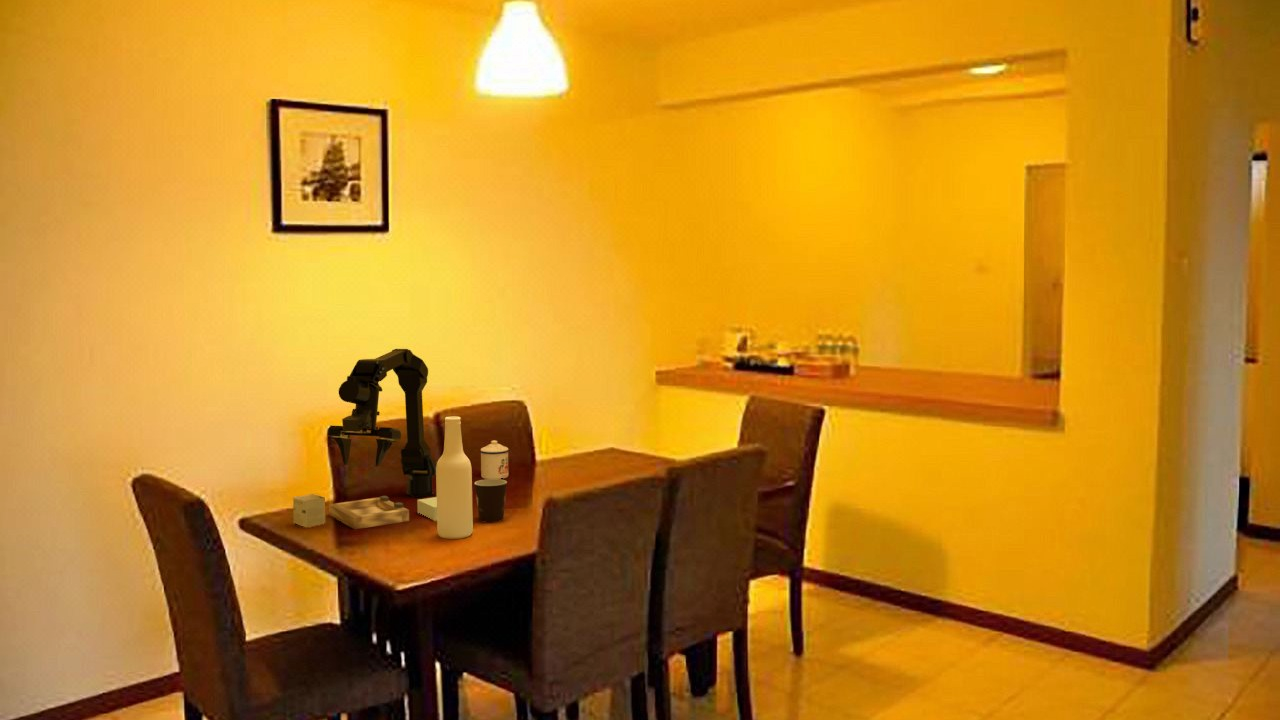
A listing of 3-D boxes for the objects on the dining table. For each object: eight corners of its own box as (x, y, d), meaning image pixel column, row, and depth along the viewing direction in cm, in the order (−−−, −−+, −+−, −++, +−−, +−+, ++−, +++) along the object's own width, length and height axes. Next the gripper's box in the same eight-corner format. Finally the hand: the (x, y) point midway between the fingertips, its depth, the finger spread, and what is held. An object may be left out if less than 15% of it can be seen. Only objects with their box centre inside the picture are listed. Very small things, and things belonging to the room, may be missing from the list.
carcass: (381, 507, 300) (381, 493, 299) (409, 520, 284) (408, 506, 284) (329, 515, 291) (328, 500, 291) (354, 529, 276) (354, 514, 275)
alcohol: (441, 530, 274) (439, 414, 271) (475, 530, 274) (473, 414, 271) (434, 539, 265) (431, 419, 262) (469, 539, 265) (466, 420, 262)
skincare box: (293, 524, 281) (292, 497, 280) (313, 520, 286) (312, 493, 285) (305, 528, 277) (304, 500, 276) (326, 524, 282) (325, 496, 281)
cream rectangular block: (437, 510, 297) (437, 496, 296) (455, 518, 288) (455, 504, 287) (417, 514, 293) (417, 499, 293) (434, 522, 284) (434, 507, 284)
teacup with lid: (503, 480, 335) (502, 443, 334) (476, 479, 337) (475, 442, 336) (516, 472, 347) (515, 437, 346) (489, 471, 349) (489, 436, 348)
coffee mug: (501, 523, 280) (500, 486, 279) (470, 522, 282) (469, 485, 281) (515, 513, 292) (514, 477, 291) (485, 512, 294) (484, 476, 293)
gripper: (319, 402, 277) (313, 462, 275) (384, 404, 273) (379, 465, 271) (340, 406, 288) (335, 464, 286) (404, 408, 284) (399, 467, 281)
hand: (361, 465), depth 281 cm, fingers open, 9 cm apart
